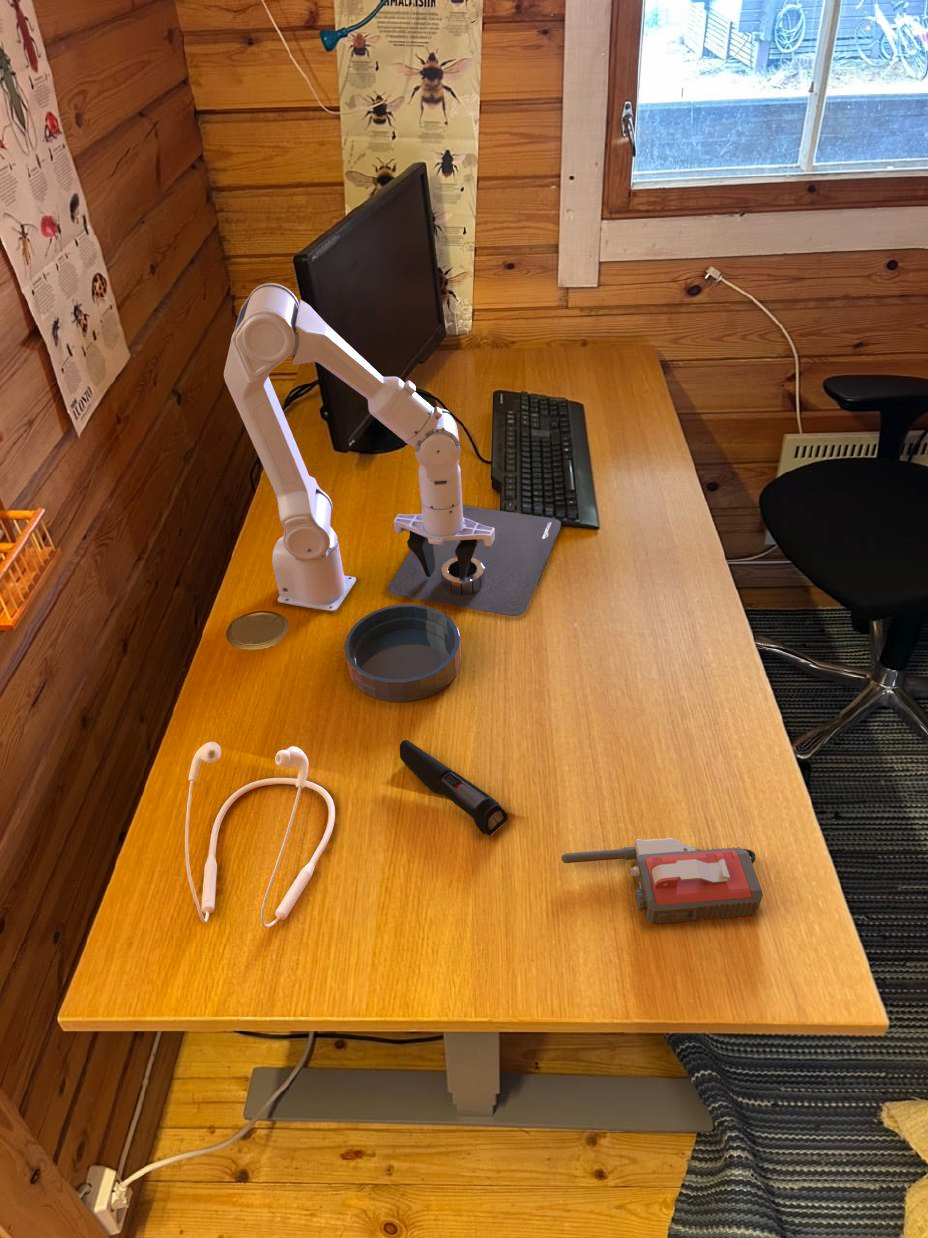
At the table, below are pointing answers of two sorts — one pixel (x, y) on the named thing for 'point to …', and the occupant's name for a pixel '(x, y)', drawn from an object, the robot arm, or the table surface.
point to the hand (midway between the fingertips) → (447, 575)
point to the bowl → (403, 652)
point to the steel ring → (462, 584)
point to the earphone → (284, 759)
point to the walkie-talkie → (686, 879)
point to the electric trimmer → (454, 788)
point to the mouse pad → (488, 564)
